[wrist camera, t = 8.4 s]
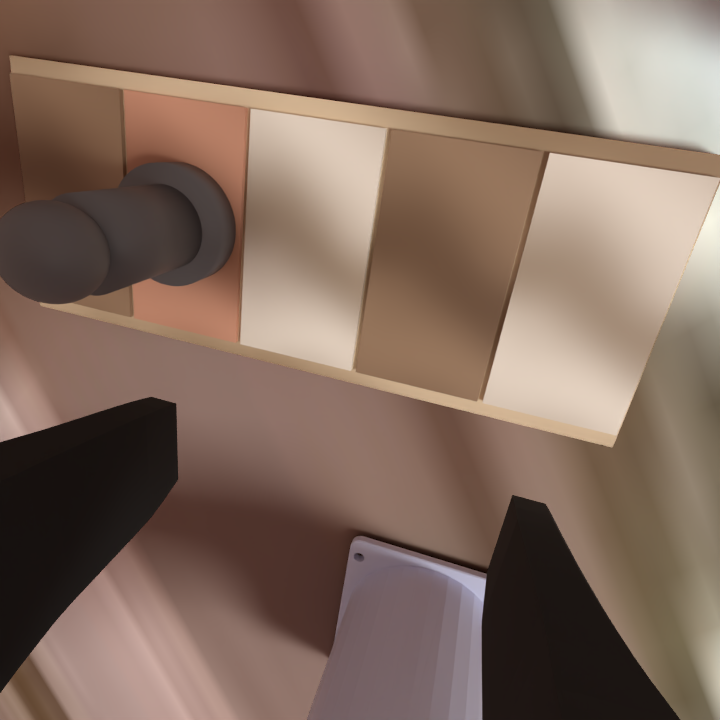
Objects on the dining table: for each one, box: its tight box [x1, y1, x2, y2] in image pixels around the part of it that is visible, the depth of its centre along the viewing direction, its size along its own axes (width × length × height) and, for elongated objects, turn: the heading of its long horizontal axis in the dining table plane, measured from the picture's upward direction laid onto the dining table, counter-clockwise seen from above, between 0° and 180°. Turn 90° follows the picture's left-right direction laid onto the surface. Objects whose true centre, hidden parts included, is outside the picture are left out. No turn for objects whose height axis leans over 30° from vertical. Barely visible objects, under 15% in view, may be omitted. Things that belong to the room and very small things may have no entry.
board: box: [9, 55, 720, 447], centre depth 19 cm, size 10×25×1 cm, turn 83°
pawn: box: [0, 162, 236, 304], centre depth 16 cm, size 4×4×8 cm
